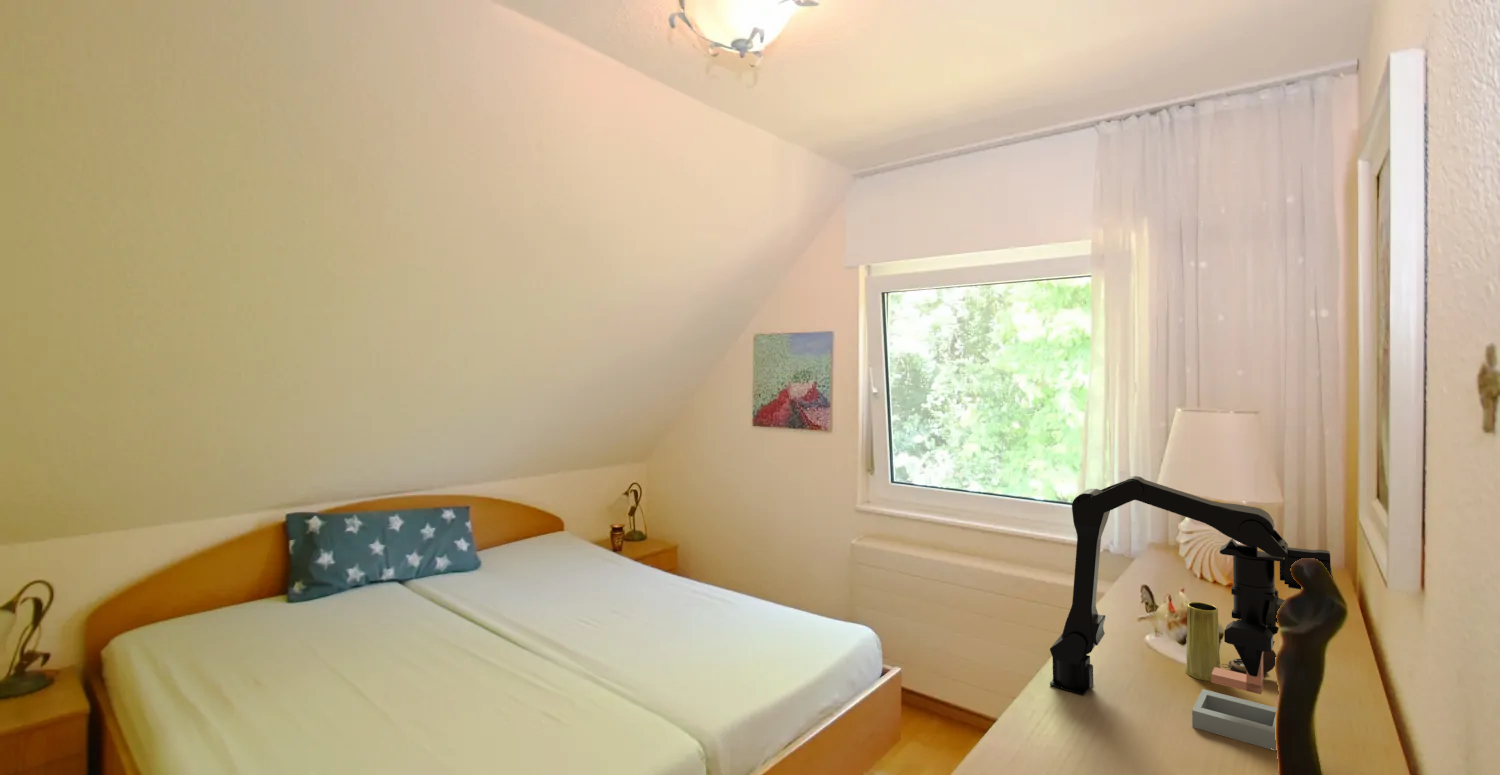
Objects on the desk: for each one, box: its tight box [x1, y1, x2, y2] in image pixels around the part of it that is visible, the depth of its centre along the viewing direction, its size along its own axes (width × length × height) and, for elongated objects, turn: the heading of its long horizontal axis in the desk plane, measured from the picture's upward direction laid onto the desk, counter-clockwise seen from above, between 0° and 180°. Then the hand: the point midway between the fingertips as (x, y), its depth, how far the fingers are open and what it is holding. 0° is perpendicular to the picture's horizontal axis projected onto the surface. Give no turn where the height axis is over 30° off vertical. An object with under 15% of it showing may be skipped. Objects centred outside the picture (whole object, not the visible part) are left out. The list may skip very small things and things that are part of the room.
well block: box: [1191, 688, 1278, 752], centre depth 117 cm, size 12×10×3 cm
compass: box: [1220, 649, 1277, 676], centre depth 137 cm, size 8×8×7 cm
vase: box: [1185, 601, 1221, 682], centre depth 136 cm, size 6×6×14 cm
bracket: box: [1211, 654, 1264, 695], centre depth 117 cm, size 7×4×7 cm, turn 47°
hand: (1254, 671), depth 115 cm, fingers closed on bracket, 3 cm apart
